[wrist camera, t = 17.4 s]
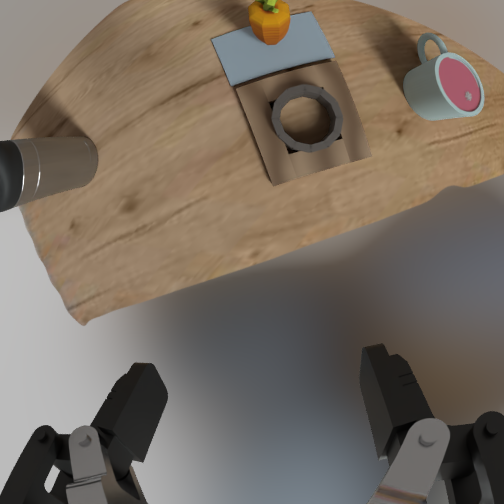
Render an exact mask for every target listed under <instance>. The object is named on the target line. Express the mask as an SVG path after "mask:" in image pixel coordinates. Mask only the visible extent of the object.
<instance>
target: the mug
mask: <svg viewBox="0 0 504 504" xmlns="http://www.w3.org/2000/svg"><path fill="white" fill-rule="evenodd" d="M429 39H431V40H433V41H434V42H435V43H436V44H437V45H438V47H439V49H440V52H441V55H439V56H437V57H435V58H433V59H431V60H429V61H427V59H426V57H425V52H424V46H425V43H426V41H427V40H429ZM417 50H418V55H419V59H420V61H421V63H422V64H421V65H420V66H418V67H416V68H414V69H412V70H410V71H409V72H408V73H407V74H406V76H405V78H404V81H403V90H404V94H405V97H406V100H407V102H408V104H409V105H410V107H411V108H412V109H413V110H414V111H415V112H416V113H417V114H418V115H419V116H421V117H422V118H424V119H427V120H442V119H450V118H459V117H469V116H475V115H477V114H478V113H479V112H480V111H481V110H482V107H483V104H484V91H483V87H482V83H481V81H480V78H479V76H478V75H477V73H476V71H475V70H474V68H473V67H472V66H471V65H470V64H469V63H468V62H467V61H466V60H465V59H464V58H462V57H461V56H459V55H457V54H454V53H448V51H447V48H446V46H445V44H444V43H443V41H442V40H441V39H440V38H439V37H438V36H437V35H435V34H432V33H425V34H422V35H421V37H420V38H419V40H418V45H417Z"/></svg>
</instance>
